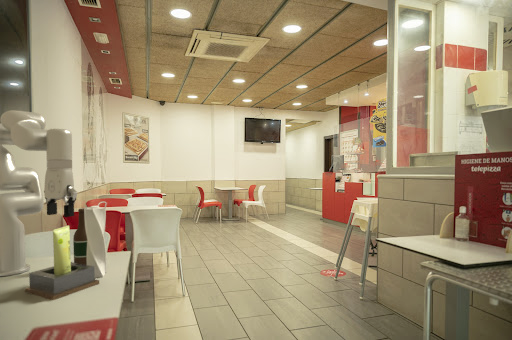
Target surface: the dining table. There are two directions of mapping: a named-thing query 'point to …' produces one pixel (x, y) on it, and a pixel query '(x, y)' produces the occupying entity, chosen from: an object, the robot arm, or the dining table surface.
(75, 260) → the beer bottle
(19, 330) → the dining table surface
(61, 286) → the grey open tray box
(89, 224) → the skyscraper
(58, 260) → the tube
